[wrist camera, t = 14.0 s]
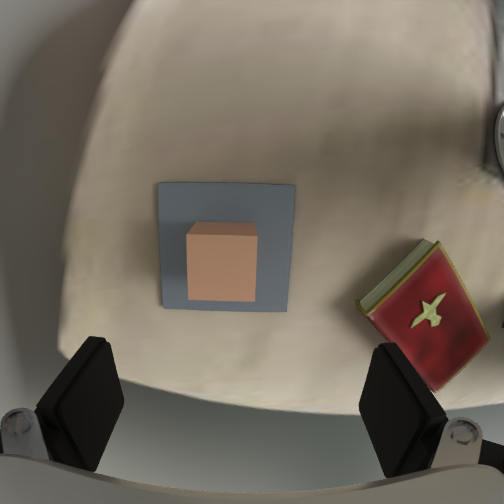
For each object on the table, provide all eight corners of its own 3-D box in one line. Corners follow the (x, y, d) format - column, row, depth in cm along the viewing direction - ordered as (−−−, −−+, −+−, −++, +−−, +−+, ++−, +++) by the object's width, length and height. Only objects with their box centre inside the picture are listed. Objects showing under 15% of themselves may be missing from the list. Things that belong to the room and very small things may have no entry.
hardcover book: (423, 380, 41) (434, 396, 37) (353, 301, 36) (364, 317, 32) (477, 328, 39) (491, 340, 35) (422, 233, 34) (440, 242, 30)
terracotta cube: (254, 222, 32) (257, 236, 26) (252, 278, 34) (255, 301, 28) (196, 221, 32) (186, 234, 26) (197, 276, 34) (188, 299, 28)
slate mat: (294, 185, 32) (295, 185, 31) (285, 309, 36) (286, 312, 35) (159, 182, 31) (158, 183, 31) (164, 306, 35) (163, 308, 35)
